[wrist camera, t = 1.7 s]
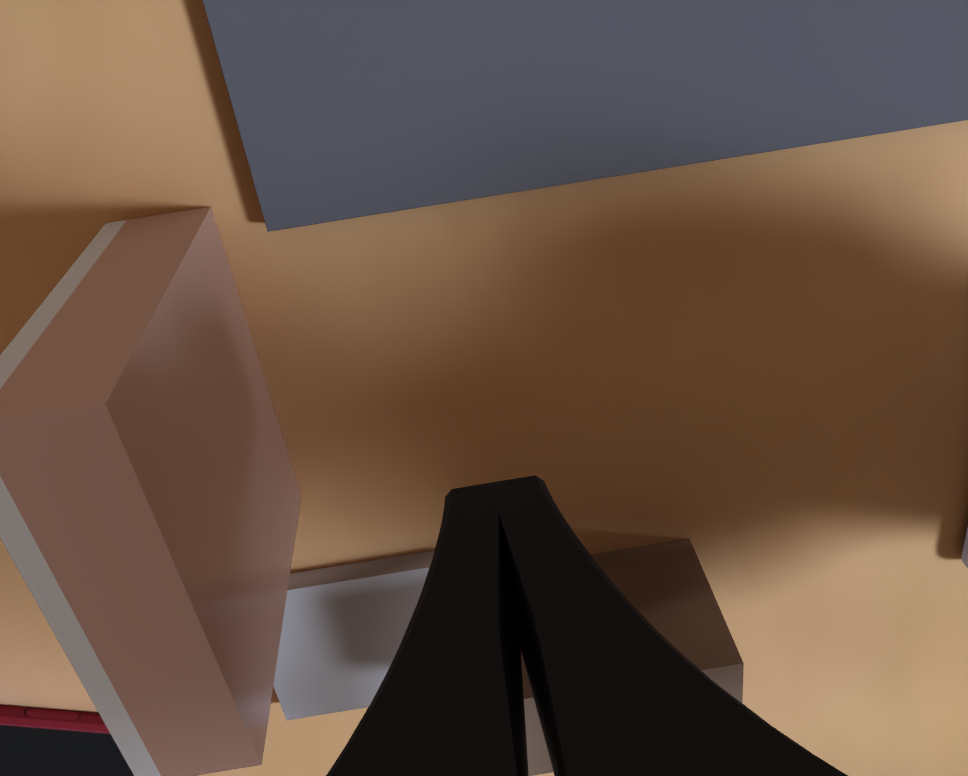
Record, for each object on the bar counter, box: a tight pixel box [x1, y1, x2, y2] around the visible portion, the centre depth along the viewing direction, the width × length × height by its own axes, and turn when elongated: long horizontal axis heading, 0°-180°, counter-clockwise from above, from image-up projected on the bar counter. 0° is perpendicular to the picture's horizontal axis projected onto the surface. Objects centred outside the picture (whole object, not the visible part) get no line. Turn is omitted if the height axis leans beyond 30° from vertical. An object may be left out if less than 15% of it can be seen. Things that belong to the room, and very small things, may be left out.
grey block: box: [273, 539, 743, 776], centre depth 21 cm, size 11×4×4 cm, turn 98°
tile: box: [0, 207, 301, 776], centre depth 15 cm, size 2×7×7 cm, turn 8°
